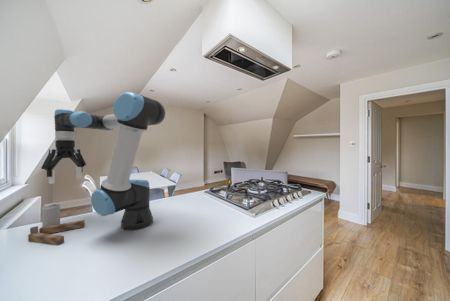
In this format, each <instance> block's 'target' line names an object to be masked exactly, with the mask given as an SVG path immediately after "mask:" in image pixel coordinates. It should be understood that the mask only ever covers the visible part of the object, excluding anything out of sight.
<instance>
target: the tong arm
mask: <svg viewBox="0 0 450 301" xmlns="http://www.w3.org/2000/svg"><path fill="white" fill-rule="evenodd" d="M85 222H86V219H81V220H76V221H70V222H64V223H60V224H58V225H52V226H46V227H42V226H41V227H40V228H38V233H44V234H55V233H58V232H59V233H60V232H64V231H65V232H66V231H70V230H75V229H81V228H85V225H86V223H85Z"/></svg>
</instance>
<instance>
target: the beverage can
mask: <svg viewBox="0 0 450 301" xmlns="http://www.w3.org/2000/svg"><path fill="white" fill-rule="evenodd" d="M58 224H61V205H60V203H59V202H51V203H45V204H43V205H42V208H41V227H46V226H52V225H58Z"/></svg>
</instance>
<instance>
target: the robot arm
mask: <svg viewBox="0 0 450 301" xmlns="http://www.w3.org/2000/svg"><path fill="white" fill-rule="evenodd" d="M113 112H114V113H112V114H111V113H110V114H106V115H97V114H90V113H88V112H86V111H79V110H78V111H73V110H70V109H63V108H60V109H59V108H58V109H55V110H54V116H53V117H54V131H55V132H54V136H55V142H54V143H55V148H56V149H55V148H52V149H48V155H47V156H46V158H45V159H44V161H43V163H42V166H41V167H40V168H41V170H45V171H46V177H47V178H48V185H49V184H53V185H54V184H56V173H55V167H56V166H57V165H58V164H59V162H60V161H61V160H62V159H70V160H71V161H72V162H73V163H74V165H76V167H75V172H76V174H75V175H76V176H75V177H76V180H81V179H83V177H82V176H83V174H82V173H83V169H84V167H85V166H86V165H87V162H86V161H85V159H84V157H83V155H82V153H81V149H78V148H77V149H75V147H76V146H75V145H76V142H75V140H76V139H75V138H76V136H75V128H77V129H78V128H79V129H91V130H101V131H102V130H103V131H113V130H114V129H119V131H118V134H117V138H116V142H115V145H114V150H113V153H112V157H111V162H110V165H109V170H108V173H107V177H106V179H103V181H101V184H100V188H98V189H96V190H94V191H93V192H92V193H91V197H90V203H91V205H92V209H93V210H94V211H95V212H96V213H97V214H98V215H100V216H105V217H106V216H109V215H113V214H115V213H118V212H120V211H123V210H124V213H123V214H122V218H121V221H120V228H121V229H122V230H127V231H134V230H140V229H143V228H146V227H148V226H150V225H152V224H153V223H154V216H153V215H152V214H153V213H152V211H151V208H150V189H151V187H150V183H149V180H146V179H131V174H132V171H133V167H134V163H135V161H136V156H137V153H138V150H139V146H140V142H141V138H142V135H143V133H144V132H146V131H147V130H148V127H149V126H157V125H160V124H161V123H162V122H163V121H164V119H165V118H166V110H165V107H164V106H163V104H162V103H161V102H160V101H158V100H156V99H152V98H150V97H148V96H144V95H142V94H139V93H135V92H131V91H126V92H123V93H122V94H119V96H117V98H116V99H115V101H114V103H113Z"/></svg>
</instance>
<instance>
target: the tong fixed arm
mask: <svg viewBox="0 0 450 301" xmlns="http://www.w3.org/2000/svg"><path fill="white" fill-rule="evenodd" d="M29 230H30V231H29V233H30V234H28V235H27V240H28V242H31V243H32V242H33V243H38V244H46V245H53V246H60V245H62V244H64V243H65V236H64V235H60V234H53V233H50V234H44V233H39V227H38V225H37V226H33V227H30V229H29Z"/></svg>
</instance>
